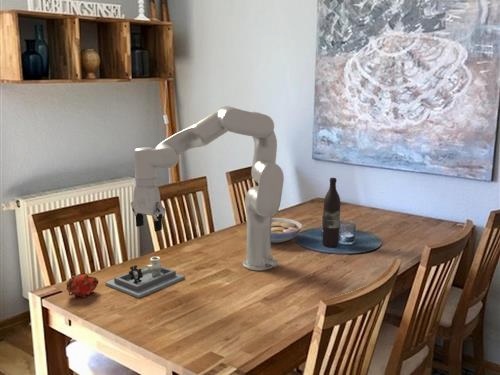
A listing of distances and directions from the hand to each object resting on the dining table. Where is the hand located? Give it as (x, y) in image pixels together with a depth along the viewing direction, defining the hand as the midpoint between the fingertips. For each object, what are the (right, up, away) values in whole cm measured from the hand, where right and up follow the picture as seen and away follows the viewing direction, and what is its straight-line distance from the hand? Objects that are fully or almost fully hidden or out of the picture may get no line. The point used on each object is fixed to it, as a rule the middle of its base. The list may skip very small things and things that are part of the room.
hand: (149, 228), depth 197 cm
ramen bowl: (+48, -9, +47) cm, 68 cm away
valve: (-1, -19, +2) cm, 19 cm away
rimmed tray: (-1, -20, +1) cm, 20 cm away
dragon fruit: (-21, -22, -10) cm, 32 cm away
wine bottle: (+72, -11, +42) cm, 84 cm away
